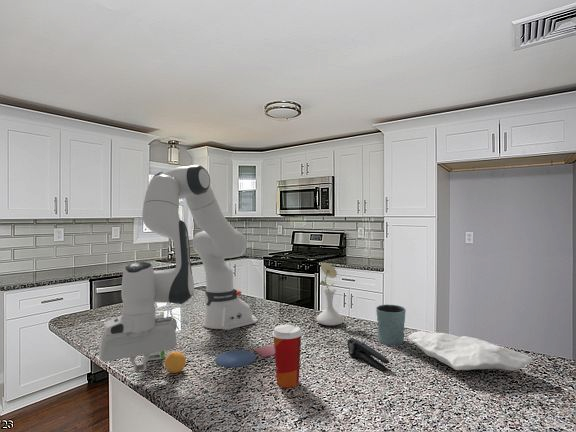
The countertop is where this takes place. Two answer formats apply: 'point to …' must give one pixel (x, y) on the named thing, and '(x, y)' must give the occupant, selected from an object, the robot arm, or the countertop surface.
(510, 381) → the countertop surface
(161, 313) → the syrup box
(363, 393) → the countertop surface
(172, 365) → the ball
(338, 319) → the flower in vase
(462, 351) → the crumpled cloth
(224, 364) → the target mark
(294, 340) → the coffee cup
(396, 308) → the teal cup
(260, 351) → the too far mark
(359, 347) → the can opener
